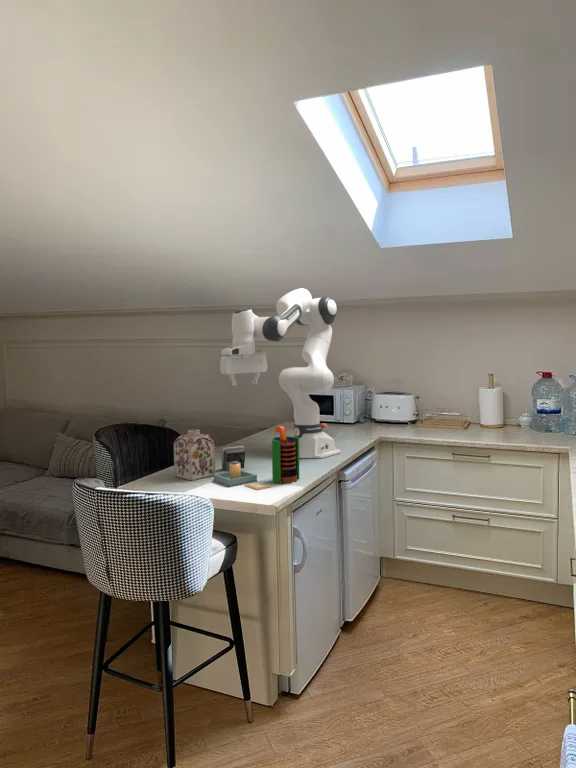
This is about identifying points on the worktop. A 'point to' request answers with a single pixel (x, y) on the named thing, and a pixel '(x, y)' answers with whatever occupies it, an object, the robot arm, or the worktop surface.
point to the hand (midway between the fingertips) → (244, 384)
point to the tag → (258, 485)
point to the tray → (244, 479)
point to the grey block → (229, 466)
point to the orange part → (235, 470)
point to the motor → (285, 457)
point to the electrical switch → (233, 455)
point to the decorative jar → (194, 456)
